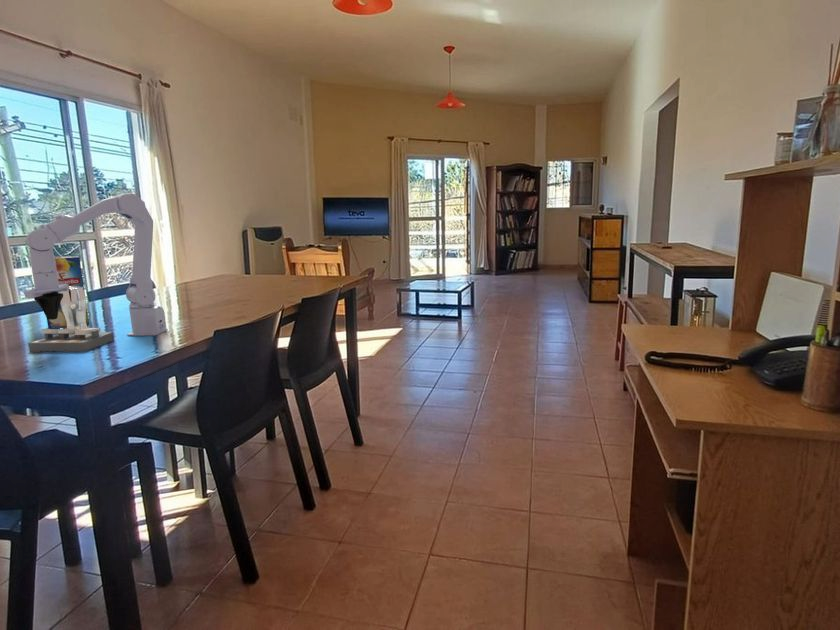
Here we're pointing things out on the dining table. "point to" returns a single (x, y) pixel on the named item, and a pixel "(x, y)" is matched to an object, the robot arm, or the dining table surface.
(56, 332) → the rocker
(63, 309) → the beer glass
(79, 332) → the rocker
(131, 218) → the robot arm
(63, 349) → the switch unit
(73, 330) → the rocker middle
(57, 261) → the juice carton
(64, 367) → the dining table surface
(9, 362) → the dining table surface
